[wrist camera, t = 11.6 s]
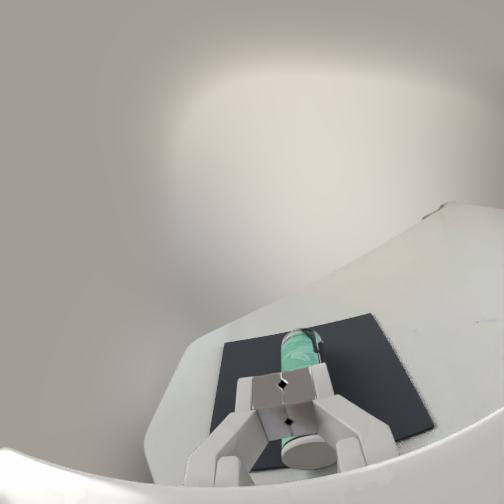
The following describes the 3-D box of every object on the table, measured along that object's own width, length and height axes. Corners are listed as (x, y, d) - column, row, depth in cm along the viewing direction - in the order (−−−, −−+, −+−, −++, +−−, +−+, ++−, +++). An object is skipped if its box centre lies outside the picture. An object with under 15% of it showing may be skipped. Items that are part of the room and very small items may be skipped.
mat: (204, 472, 24) (203, 471, 24) (225, 344, 47) (224, 342, 47) (433, 427, 22) (434, 425, 22) (370, 314, 44) (370, 312, 44)
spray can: (355, 450, 21) (328, 330, 39) (311, 434, 20) (298, 310, 39) (312, 474, 22) (302, 355, 41) (268, 460, 21) (272, 336, 40)
